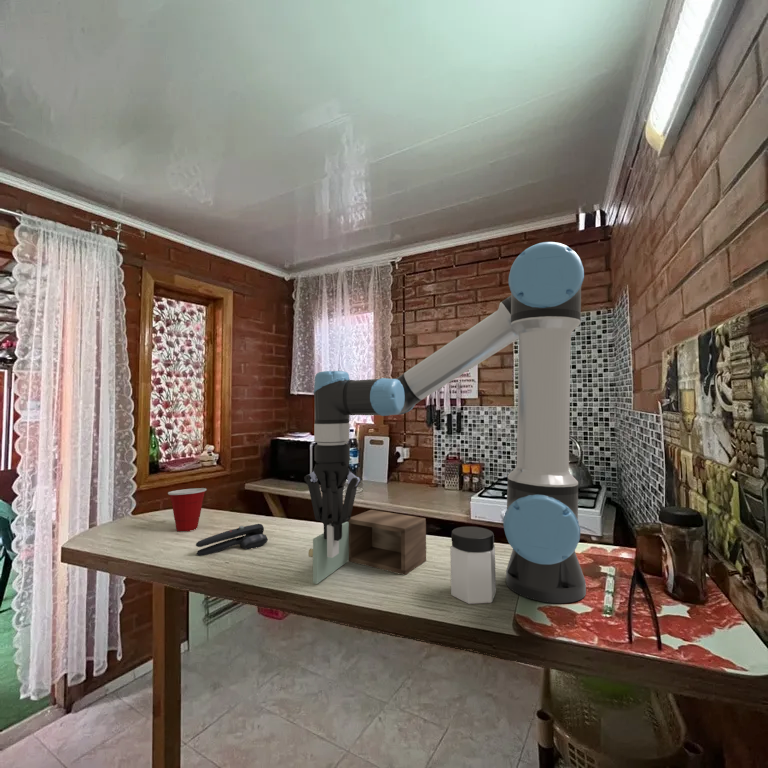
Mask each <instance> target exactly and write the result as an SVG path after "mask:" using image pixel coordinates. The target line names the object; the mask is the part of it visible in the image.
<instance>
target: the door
mask: <svg viewBox="0 0 768 768" xmlns="http://www.w3.org/2000/svg"><path fill="white" fill-rule="evenodd" d="M307 554H308V557H311V558H312V584H316V585H317V584H320V582H321V581H323V580H325V579H326V578H327V577H329V576H330V575H331V574H333V573H334V572H335V571H337V570H338V569H340V568H341V567H342V566H343V565H345V564H346V563H348V562H350V561H349V522H345V523H342V538H341V539H340V540H339V554H337V555H336V556H334V557H333V558H331V557H327V539H324V532H323V533H321V534H320V535H317V536H316V537H314V538H312V548H310V549H309V550H308V553H307Z"/></svg>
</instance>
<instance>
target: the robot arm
mask: <svg viewBox="0 0 768 768" xmlns="http://www.w3.org/2000/svg"><path fill="white" fill-rule="evenodd" d="M584 279H585V270H584V266H583V262H582V260H581V258H580V256H579V255H578V254H577V252H576V251H575V250H573V249H572V248H571V247H569V246H568V245H566V244H563V243H561V242H555V241H543V242H539V243H536V244H534V245H531V246H529V247H527V248H526V249H524V250H523V251H522V252H521V253H520V254H519V255H518V256H517V257H516V258H515V260H514V261H513V263H512V264H511V267H510V271H509V273H508V286H509V290H510V292H511V293H510V295H509V296H508V297H507V298H505V299H504V300H502V301H501V302H499V306H498V308H497V310H495V311H494V312H493V313H491V314H490V315H488V316H486V318H484V319H482V320H481V321H479V322H477V324H474V325H473V326H472V327H470V328H469V329H467V330H466V331H464V332H463V333H461V334H460V335H458V336H457V337H455V338H454V339H453V340H451V341H449V342H448V343H446V344H444V346H442V347H441V348H439V349H437V350H436V351H434V352H433V353H431V354H430V355H428V356H427V357H426V358H424V359H423V360H421V361H420V362H418V363H417V364H415V365H414V366H413V367H411V368H409V369H408V370H407V371H405V372H404V373H403V374H400V375H399V376H397V377H396V378H387V377H381V378H375V379H374V378H371V379H357V380H355V379H351V378H350V373H348V372H347V371H343V370H325V371H319V372H317V373H316V374H314V375H315V376H314V386H313V387H314V388H313V397H314V399H313V400H314V424H313V425H314V428H313V429H314V430H313V431H314V435H313V438H314V439H313V441H314V442H315V443H317V444H315V445H314V461H315V464H314V468H313V471H312V472H311V473H309V474H306V475H305V476H304V477H303V479H304V482H306V485H307V487H308V491H309V495H310V496H309V497H310V500H311V505H312V509H313V513H314V514H313V515H314V518H315V520H316V521H320V522H321V523H322V524H323V533H324V539H327V557H331V558H333V557H334V556H336V555H337V554H339V540H340V539H341V538H342V523H345V522H347V521H349V520H350V518H351V517H352V513H353V508H354V504H355V497H356V494H357V489H358V488H359V485H360V483H361V482H362V476H357V475H356V474H354V473H353V472H352V468H351V466H350V461H351V460H350V459H351V454H350V452H351V450H350V448H351V447H350V444H349V443H347V442H349V441H350V416H381V417H385V416H386V417H387V416H396V415H403V414H406V413H408V412H410V411H412V410H413V409H414V408H415V406H416V404H418V403H420V402H421V401H422V400H424V399H425V398H427V397H429V396H430V395H432V394H433V393H435V392H437V391H438V390H440V389H441V388H443V387H444V386H446V385H447V384H449V383H451V382H452V381H454V380H456V379H457V378H459V377H460V376H461V375H463V374H465V373H467V372H468V371H470V370H472V369H474V367H477V365H479V364H481V363H482V362H483V361H486V360H487V359H489V358H490V357H492V356H494V355H495V354H497V353H498V352H499V351H502V350H503V349H504V348H506V347H508V346H509V345H511V344H512V343H513V342H516V341H517V340H518V374H517V375H518V377H517V378H518V379H517V380H518V381H517V383H518V385H517V389H518V390H517V431H516V432H517V433H516V435H517V436H516V466H515V468H514V469H513V470H511V472H509V474H508V475H507V488H506V489H507V492H506V510H505V513H504V516H503V523H502V524H503V530H504V534H505V537H506V540H507V542H508V544H509V545H510V547H511V548H512V551H511V553H510V557H509V559H508V563H507V566H506V571H505V577H506V578H505V579H506V580H505V581H506V585H507V587H508V588H509V589H510V590H511V591H513V592H514V593H516V594H518V595H519V596H521V597H523V598H527V599H530V600H533V601H538V602H543V603H549V604H550V603H551V604H568V603H574V602H578V601H580V600H582V599H584V598H585V597H586V594H587V585H586V578H585V576H584V574H583V569H582V566H581V564H580V561H579V559H578V556H577V554H576V549H577V547H578V544H579V542H580V538H581V526H580V524H579V480H577V479H576V478H575V477H574V476H573V475H572V474H571V472H570V469H569V467H570V418H571V417H570V416H571V415H570V411H571V410H570V408H571V406H570V403H571V402H570V400H571V399H570V398H571V351H572V350H571V348H572V347H571V338H572V336H571V334H572V333H573V332H574V331H575V330H576V329H577V328H578V327H579V325H581V320H582V319H581V318H582V317H581V315H582V314H581V313H582V312H581V311H582V310H581V309H582V285H583V282H584ZM346 481H347V487H346V489H345V483H346ZM319 483H320V484H319ZM344 489H345V490H346V491H345V496H344V493H343V492H344Z"/></svg>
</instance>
